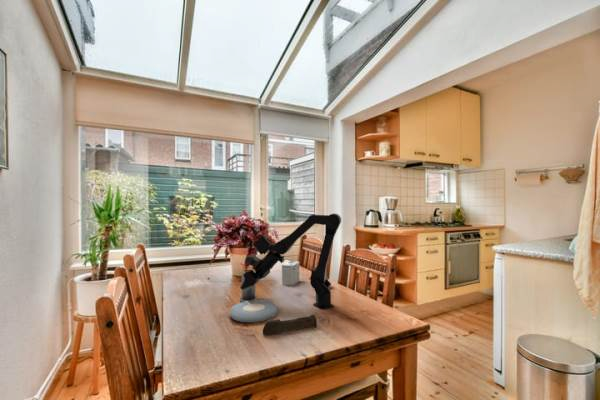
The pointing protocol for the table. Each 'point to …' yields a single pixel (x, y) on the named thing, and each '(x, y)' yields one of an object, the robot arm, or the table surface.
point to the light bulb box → (290, 273)
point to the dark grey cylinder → (248, 292)
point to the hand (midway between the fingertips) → (245, 285)
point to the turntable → (253, 311)
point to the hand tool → (288, 325)
